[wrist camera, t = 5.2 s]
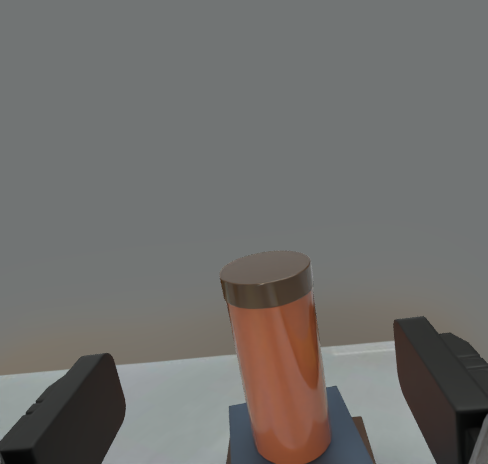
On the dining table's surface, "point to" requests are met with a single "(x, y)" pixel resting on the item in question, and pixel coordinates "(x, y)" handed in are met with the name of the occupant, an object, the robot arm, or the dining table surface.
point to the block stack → (332, 460)
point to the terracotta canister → (279, 354)
